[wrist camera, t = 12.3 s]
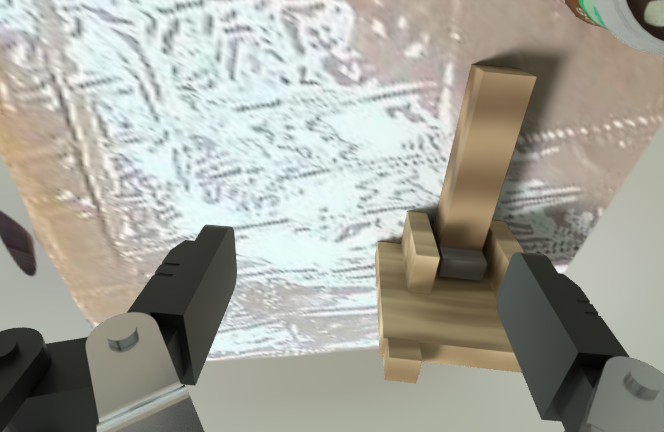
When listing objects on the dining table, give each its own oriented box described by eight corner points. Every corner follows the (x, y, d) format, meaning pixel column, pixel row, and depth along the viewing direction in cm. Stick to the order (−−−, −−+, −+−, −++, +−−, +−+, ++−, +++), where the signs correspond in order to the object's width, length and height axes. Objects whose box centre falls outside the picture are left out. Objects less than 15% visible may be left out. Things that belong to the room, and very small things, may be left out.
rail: (471, 63, 34) (491, 76, 29) (518, 68, 34) (547, 81, 29) (429, 241, 43) (438, 276, 38) (467, 245, 43) (481, 280, 38)
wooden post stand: (383, 208, 41) (393, 317, 27) (529, 224, 41) (616, 342, 27) (374, 258, 44) (380, 379, 30) (511, 272, 44) (580, 402, 30)
